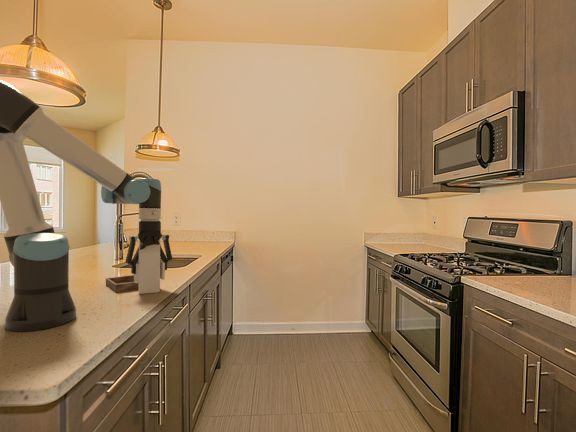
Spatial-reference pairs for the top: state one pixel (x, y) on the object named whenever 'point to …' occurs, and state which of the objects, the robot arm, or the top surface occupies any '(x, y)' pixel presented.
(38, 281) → the robot arm
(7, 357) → the top surface
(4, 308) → the top surface
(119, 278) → the tray
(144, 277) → the milk carton
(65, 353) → the top surface
